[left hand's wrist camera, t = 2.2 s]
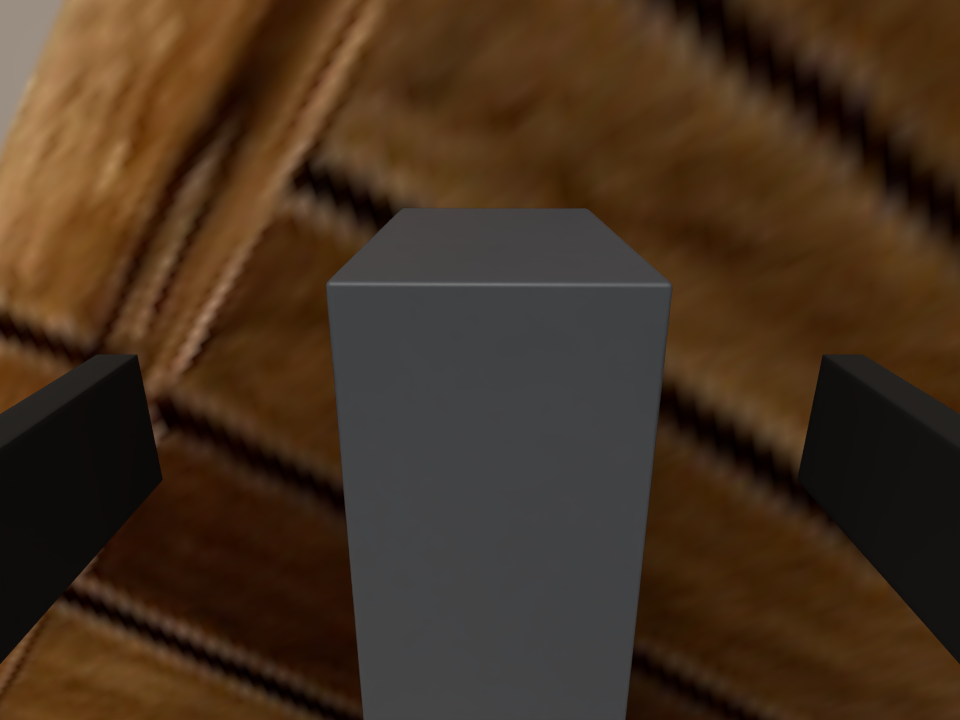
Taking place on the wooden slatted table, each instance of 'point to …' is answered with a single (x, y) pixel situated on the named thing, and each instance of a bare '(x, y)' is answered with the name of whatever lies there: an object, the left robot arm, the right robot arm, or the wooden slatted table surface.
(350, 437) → the bar
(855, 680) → the wooden slatted table surface
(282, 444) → the wooden slatted table surface
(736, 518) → the wooden slatted table surface
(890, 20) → the wooden slatted table surface
